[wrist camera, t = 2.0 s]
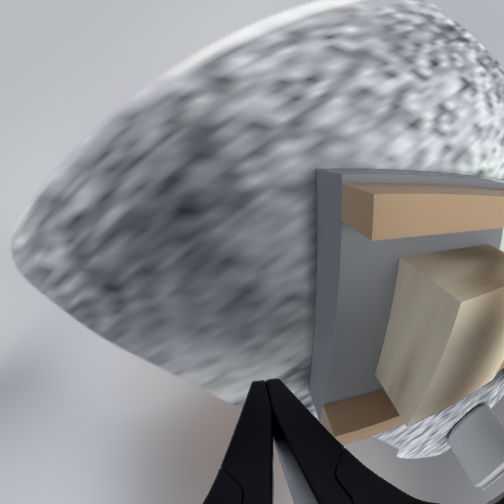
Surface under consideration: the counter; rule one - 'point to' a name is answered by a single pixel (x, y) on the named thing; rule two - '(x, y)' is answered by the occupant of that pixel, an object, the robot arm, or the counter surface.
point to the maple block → (443, 329)
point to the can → (479, 445)
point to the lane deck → (380, 275)
